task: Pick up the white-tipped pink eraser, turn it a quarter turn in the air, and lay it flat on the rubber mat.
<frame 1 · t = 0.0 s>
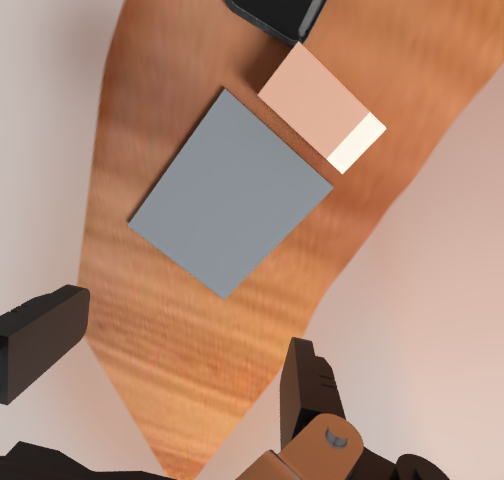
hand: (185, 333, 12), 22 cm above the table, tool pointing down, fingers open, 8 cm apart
white-tipped pink eraser: (317, 112, 29), on the table
mat: (225, 206, 33), on the table
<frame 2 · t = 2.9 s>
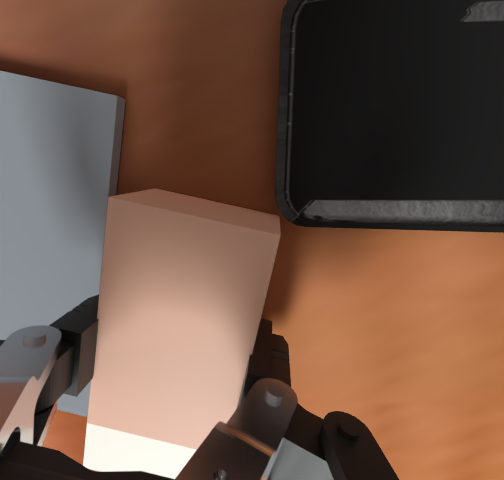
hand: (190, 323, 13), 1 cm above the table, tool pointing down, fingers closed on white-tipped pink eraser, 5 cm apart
white-tipped pink eraser: (196, 315, 13), on the table, touching gripper
phone: (485, 118, 11), on the table
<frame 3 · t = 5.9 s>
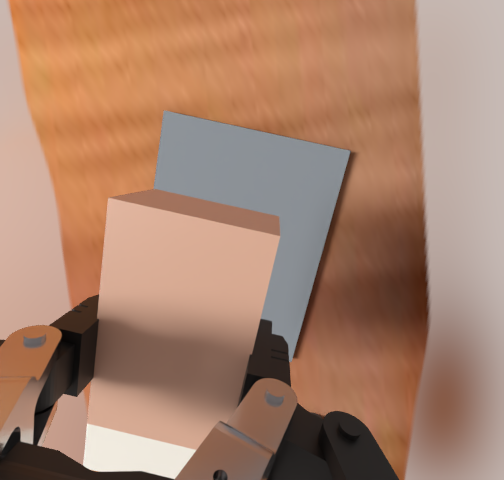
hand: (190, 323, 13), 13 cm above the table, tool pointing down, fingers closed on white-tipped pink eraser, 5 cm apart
white-tipped pink eraser: (196, 315, 13), point 12 cm above the table, touching gripper
mat: (233, 244, 25), on the table
when the fingers open (2 cm above the table, at t = 8.7 s): white-tipped pink eraser stays where it is, resting on mat.
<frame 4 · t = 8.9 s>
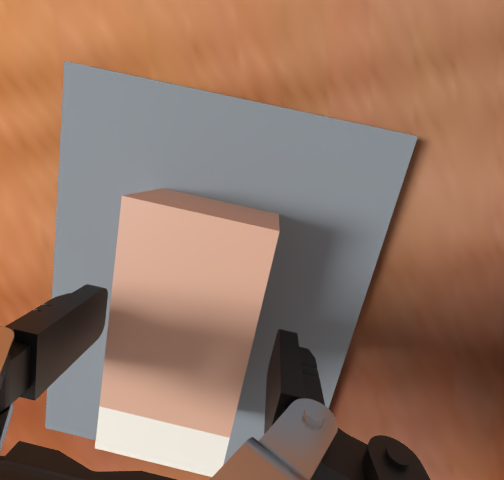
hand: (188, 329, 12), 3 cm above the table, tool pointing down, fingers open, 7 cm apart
white-tipped pink eraser: (200, 307, 14), point 1 cm above the table, touching mat
mat: (203, 301, 15), on the table
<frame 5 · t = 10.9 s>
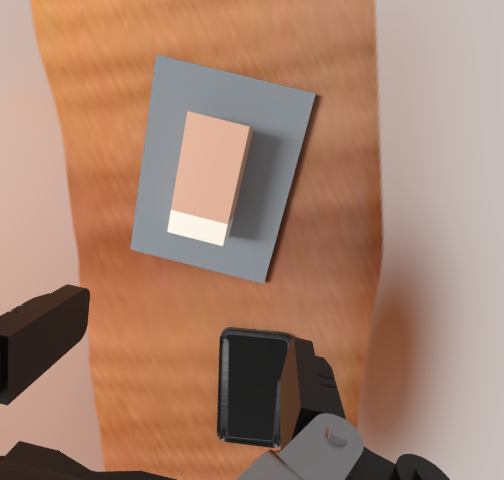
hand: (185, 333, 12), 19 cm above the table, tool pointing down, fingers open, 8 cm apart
white-tipped pink eraser: (214, 179, 29), point 1 cm above the table, touching mat
phone: (254, 384, 36), on the table
mat: (215, 178, 29), on the table
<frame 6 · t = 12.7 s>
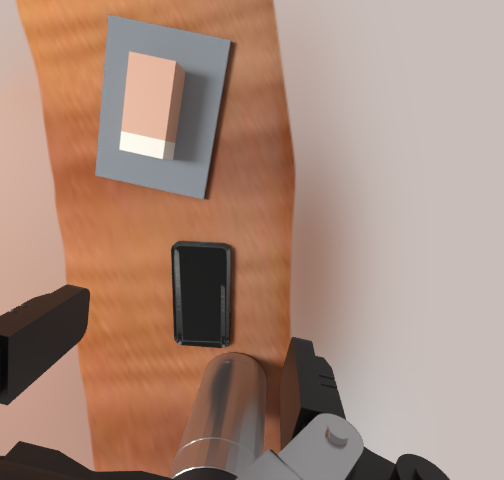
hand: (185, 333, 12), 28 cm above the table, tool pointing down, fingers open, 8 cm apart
white-tipped pink eraser: (158, 112, 36), point 1 cm above the table, touching mat
phone: (203, 293, 43), on the table
mat: (160, 113, 37), on the table
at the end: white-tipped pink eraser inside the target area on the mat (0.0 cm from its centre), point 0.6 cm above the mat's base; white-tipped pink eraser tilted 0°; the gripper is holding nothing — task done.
